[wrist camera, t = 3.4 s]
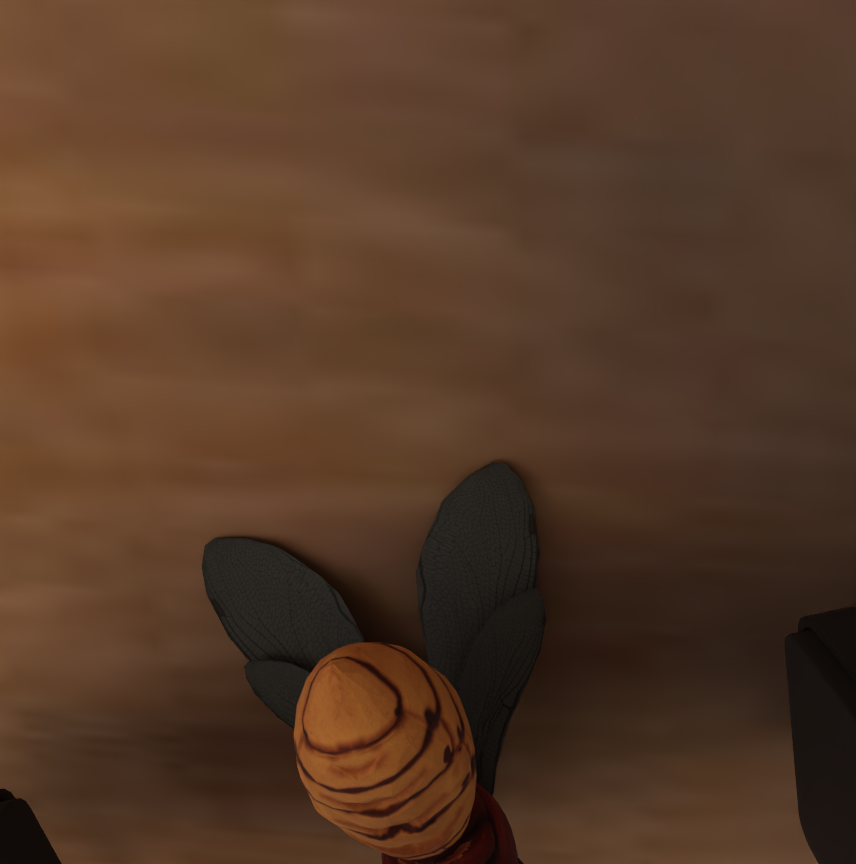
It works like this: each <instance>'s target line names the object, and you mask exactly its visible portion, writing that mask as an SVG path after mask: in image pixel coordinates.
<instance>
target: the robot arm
mask: <svg viewBox="0 0 856 864" xmlns="http://www.w3.org/2000/svg"><path fill="white" fill-rule="evenodd" d="M785 656H786V667H787V679H788V691H789V703H790V715H791V727H792V739H793V751H794V763H795V775H796V787H797V799H798V811H799V817H800V822H801V826H802V829H803V832H804V835H805V837H806V840H807V842H808V845H809V847H810V849H811V851H812V853H813V854H814V856H815V858H816V860H817V861H818V863H819V864H856V607H854V606H852V607H847V608H842V609H838V610H833V611H828V612H824V613H819V614H814V615H810V616H805V617H802V618H801V619H800V621H799V624H798V632H797V633H792V634H788V635H786V637H785ZM0 864H61V862H60V860H59V858H58V857H57V855H56V853H55V851H54V849H53V848H52V846H51V844H50V842H49V840H48V838H47V837H46V835H45V833H44V831H43V829H42V828H41V826H40V824H39V822H38V820H37V819H36V817H35V815H34V813H33V811H32V810H31V808H30V806H29V805H28V803H27V802H26V801H25V800H23V799H21V798H19V799H16V798H15V797H14V796H13V794H12V793H11V792H9V791H8V790H6V789H0Z"/></svg>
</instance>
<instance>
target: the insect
mask: <svg viewBox="0 0 856 864" xmlns="http://www.w3.org/2000/svg"><path fill="white" fill-rule="evenodd" d="M538 562H539V547H538V538H537V530H536V522H535V513H534V506H533V504H532V502H531V500H530V498H529V495H528V493H527V491H526V489H525V487H524V485H523V482H522V480H521V479H520V478H519V477H518V476H517V475H516V474H515V473H514V472H513V470H512V469H511V468H510V467H509V466H508V465H507V464H506V463H491V464H489V465H487V466H485V467H484V468H482V469H480V470H479V471H477V472H475V473H473V474H472V475H470V476H468V477H467V478H466V479H465V480H463V481H462V482H461V483H460V484H459V485H458V486H457V487H456V488H455V489H454V490H453V491H452V492H451V493H450V494H449V495H448V496H447V497H446V498H445V499H444V500H443V501H442V504H441V506H440V508H439V511H438V513H437V515H436V518H435V520H434V522H433V524H432V527H431V529H430V531H429V534H428V536H427V538H426V541H425V543H424V545H423V548H422V552H421V556H420V560H419V564H418V567H417V571H416V578H417V591H418V603H419V611H420V617H421V624H422V630H423V636H424V642H425V648H426V654H427V660H428V664H427V663H426V662H424V661H422V660H421V659H420V658H419V657H417V656H416V655H415V654H414V653H412V652H411V651H410V650H407V649H405V648H403V647H401V646H397V645H392V644H386V643H380V642H365V641H364V639H363V637H362V634H361V632H360V630H359V628H358V626H357V624H356V622H355V620H354V618H353V617H352V615H351V613H350V611H349V610H348V608H347V606H346V604H345V603H344V601H343V599H342V597H341V596H340V594H339V593H338V592H337V591H336V590H335V589H334V588H333V587H332V586H331V585H329V584H328V583H327V582H326V581H325V580H324V579H323V578H322V577H321V576H320V575H318V574H317V573H316V572H314V571H313V570H311V569H310V568H308V567H307V566H305V565H304V564H302V563H301V562H299V561H298V560H296V559H295V558H294V557H292V556H291V555H289V554H288V553H286V552H285V551H283V550H282V549H280V548H279V547H277V546H274V545H270V544H266V543H262V542H258V541H254V540H250V539H246V538H215V539H214V540H212V541H211V542H209V543H208V544H206V545H205V549H204V556H203V563H202V570H203V576H204V581H205V587H206V593H207V596H208V598H209V600H210V601H211V603H212V605H213V607H214V609H215V611H216V613H217V615H218V617H219V619H220V621H221V623H222V625H223V627H224V629H225V631H226V632H227V634H228V636H229V637H230V639H231V640H232V641H233V642H234V643H235V645H236V646H237V647H238V648H239V649H240V651H241V652H242V653H243V654H244V655H245V657H246V658H247V659H248V660H249V662H248V663H247V664H246V665H244V669H245V674H246V679H247V680H248V682H249V684H250V686H251V687H252V689H253V691H254V693H255V694H256V695H257V696H258V697H259V698H260V699H261V700H262V701H263V702H264V703H265V705H266V706H267V707H268V708H269V709H270V710H271V711H272V712H273V713H274V714H275V715H276V716H277V717H278V718H280V719H281V720H283V721H284V722H285V723H287V724H288V725H289V726H291V727H292V728H294V745H295V754H296V759H297V762H296V763H297V767H298V771H299V774H300V777H301V780H302V783H303V785H304V787H305V788H306V790H307V792H308V794H309V796H310V799H311V801H312V803H313V805H314V807H315V810H316V811H317V812H318V813H319V814H321V815H322V816H323V817H324V818H326V819H328V820H329V821H331V822H333V823H334V824H336V825H338V826H339V828H341V829H342V830H343V831H344V832H346V833H347V834H348V835H349V836H350V837H352V838H354V839H355V840H357V841H359V842H361V843H363V844H365V845H367V846H370V847H372V848H374V849H376V850H378V851H381V852H382V864H523V862H522V861H521V860H520V859H519V858H518V854H517V849H516V845H515V841H514V837H513V833H512V830H511V827H510V824H509V822H508V820H507V818H506V815H505V814H504V812H503V810H502V809H501V807H500V806H499V804H498V803H497V801H496V800H495V799H494V797H493V796H492V795H493V793H494V784H495V776H496V767H497V762H498V759H499V755H500V752H501V748H502V745H503V741H504V738H505V734H506V731H507V727H508V724H509V721H510V718H511V716H512V714H513V712H514V710H515V708H516V706H517V704H518V702H519V700H520V697H521V695H522V693H523V691H524V689H525V687H526V685H527V682H528V680H529V677H530V675H531V672H532V670H533V667H534V665H535V662H536V660H537V657H538V655H539V652H540V649H541V644H542V639H543V633H544V628H545V622H546V614H545V605H544V600H543V598H542V596H541V594H540V592H539V590H538V589H535V588H536V579H537V571H538Z"/></svg>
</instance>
